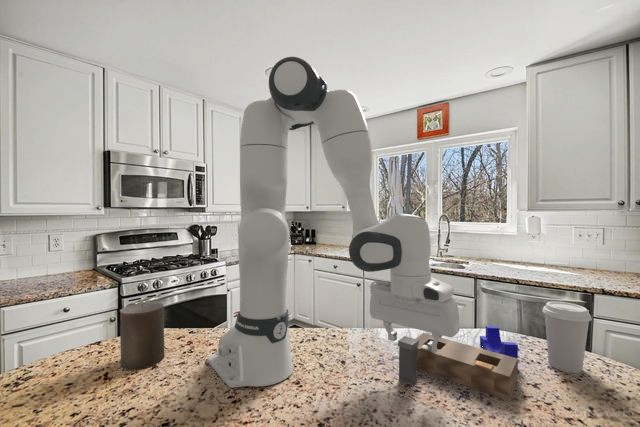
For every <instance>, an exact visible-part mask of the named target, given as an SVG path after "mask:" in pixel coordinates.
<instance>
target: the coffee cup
mask: <svg viewBox="0 0 640 427" xmlns="http://www.w3.org/2000/svg"><path fill="white" fill-rule="evenodd" d="M542 313H543V314H544V320H545V321H544V322H545V333H546V345H547V356H548V357H547V358H548V364H549V365H550V366H551V367H552V368H554V369H556V370H559V371H561V372H565V373H570V374H581V373H582V372H583V366H584V360H585V352H586V345H587V339H588V331H589V324H590V322H591V321H592V320H593V319H592V315H591V314H590V313H589V310H588V309H587V308H586V307H584V306H582V305H578V304H576V303H569V302H567V301H566V302H565V301H547V302H546V303H545V305H544V306H543V308H542Z"/></svg>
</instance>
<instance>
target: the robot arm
mask: <svg viewBox="0 0 640 427" xmlns="http://www.w3.org/2000/svg"><path fill="white" fill-rule="evenodd" d="M268 88H269V90H268V91H269V93H270V96H271V97H269V98H268V99H266V100H265V99H264V100H263V99H262V100H256V101H252V102H251V103H249V104H248V105H247V106H246V108H245V109H244V111H243V117H242V123H241V129H240V139H239V140H240V141H239V144H240V145H239V188H240V189H239V192H240V223H239V226H238V232H237V238H238V239H237V240H238V241H237V242H238V243H237V244H238V246H237V248H238V249H237V250H238V270H239V273H238V274H239V310H238V311H236V312H233V315H234V314H235V315H234V316H233V318H236V319H235V323H234V325H233V327H232V328H230V329H229V330H228V331H226V332H225V333H224V334H223V335H222V336H220V338H219V340H218V346H217V347H218V348H217V349H218V350H217V351H216V352H214V353H213V354H211V355H210V356H209V357H208V358H207V359H208V360H207V361H208V364H209V365H210V367H211V368H212V369H213V370H214V371H215V373H217V375H218V376H219V377H220V379H221V380H223V382H224V383H225V385H227V386H228V388H232V389H233V388H241V387H266V386H271V385H275V384H279V383H281V382H282V381H284V380H286V379H287V378H289V377H290V376H291V375H292V373H293V371H294V363H293V359H294V353H293V352H292V349H291V337H290V329H289V320H290V314H289V310H288V308H287V307H288V306H287V305H288V304H287V302H288V301H287V300H288V286H287V282H288V280H287V278H288V269H289V266H288V265H289V251H290V249H289V248H290V228H289V224H288V222H287V219H286V206H287V205H286V204H287V203H286V201H287V200H286V199H287V189H288V188H287V187H288V134H289V130H290V131H295V130H297V129H300V128H303V127H304V128H305V127H308V126H312V125H316V127H317V130H318V132H319V138H320V142H321V147H322V149H323V154H324V157H325V159H326V163H327V165H328V168H329V170H330V171H331V173H332V175H333V176H334V178H335V179H336V181H337V182H338V184H339V185H340V186H341V189H343V190H342V191H343V192H344V194H345V197H346V200H347V201H346V202H347V204H348V208H349V212H350V217H351V221H352V226H353V228H352V229H353V231H352V236H351V240H350V243H349V247H348V255H349V257H350V258H349V259H350V260H351V262H352V263H353V265H354V266H355V267H356V268H358V269H359V270H360V271H363V272H368V273H369V272H370V273H371V272H372V273H373V272H379V271H380V272H381V271H386V270H390V280H389V281H387V280H381V279H375V281H373V282H372V283H371V284H370V294H371V295H370V299H369V310H368V312H369V314H370V317H371V318H372V319H374V320H379V321H382V324H383V328H384V329H385V331H386V332H387V340H388V341H391V342H395V341H398V340H397V339H398V332H397V331H395V330H394V328H393V326H392V324H395V325H398V326H403V327H408V328H410V329H411V328H412V329H415V330H420V331H424V332H426V333H431V335H432V337H433V338H435V339H434V341H430V342H429V343H428V344H427V347H428V349H427V350H428V351H429V352H433V353H435V352H436V351H437V343H438V341H439V340H440V338H443V336H444V337H448V338H453V337H455V336H457V334H458V333H459V331H460V329H461V328H460V327H461V325H460V324H461V322H460V312H459V307H458V304H457V301H456V300H455V299H454V298H453V296H454V294H455V288H454V287H453V286H452V285H451V284H448V283H445V282H444V281H442V280H440V279H438V278H435V277H433V276H432V270H431V267H430V258H431V252H432V251H431V250H432V248H431V235H430V228H429V225H428V222H427V221H426V219H424V218H423V217H421V216H419V215H414V214H408V213H403V212H397V213H396V212H395V213H393V214H392V215H391V216H390V217H389V218H387V219H385V220H383V221H382V222H379V221H378V218H377V214H376V210H375V205H374V201H373V197H372V196H373V195H372V191H371V177H372V176H371V173H372V169H373V168H372V166H373V151H372V142H371V137H370V132H369V128H368V124H367V121H366V118H365V116H364V113H363V110H362V107H361V105H360V102H359V100H358V98H357V96H356V95H355V93H353V92H352V91H350V90H347V89H336V90H335V89H334V90H328V83H327V81H326V80H325V79H324V78H323V76H321V75H320V74H319V73H318V72H317V71H316V70H315V68H314V67H313V66H311V64H310V63H308V62H307V61H306V60H304V59H302V58H300V57H297V56H286V57H284V58H282V59H280V60H278V62H275V64H274V65H273V67H272V68H271V70H270V73H269V77H268Z"/></svg>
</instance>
